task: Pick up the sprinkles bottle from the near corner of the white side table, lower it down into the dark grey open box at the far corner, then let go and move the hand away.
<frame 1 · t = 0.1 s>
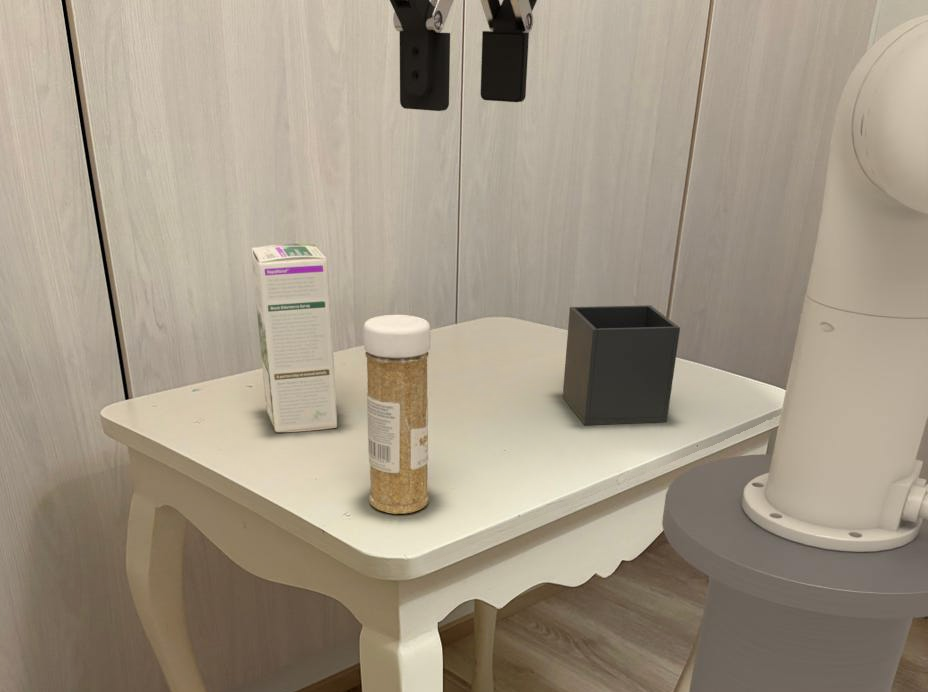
hand: (465, 104, 64), 26 cm above the table, tool pointing down, fingers open, 9 cm apart
sprinkles bottle: (398, 505, 75), on the table
syrup box: (300, 422, 89), on the table
dark grey open box: (613, 409, 93), on the table
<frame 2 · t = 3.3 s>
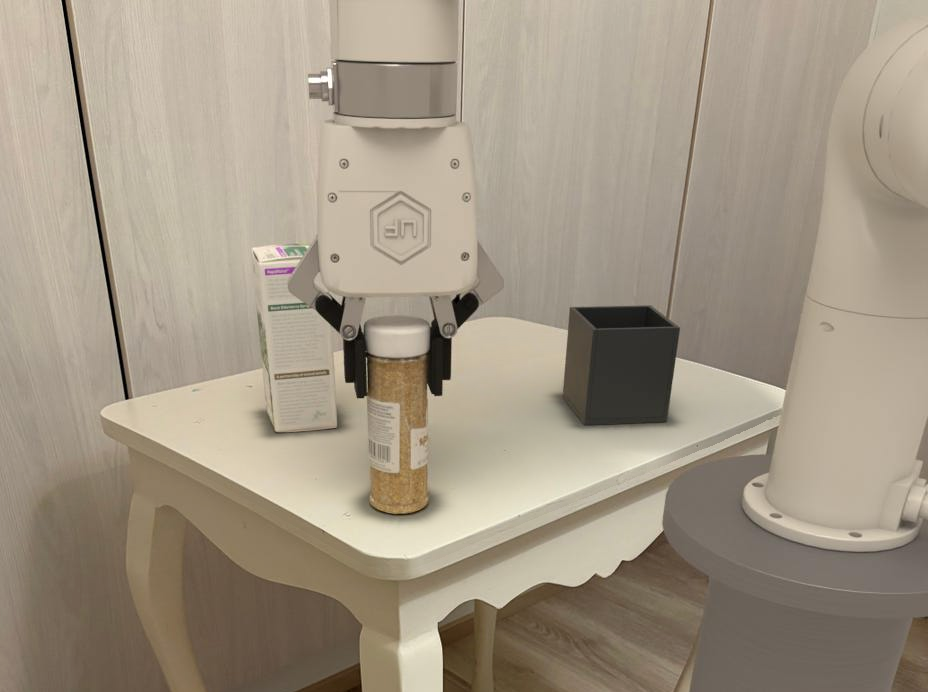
hand: (397, 388, 70), 9 cm above the table, tool pointing down, fingers closed on sprinkles bottle, 4 cm apart
sprinkles bottle: (398, 505, 75), on the table, touching gripper
everything else where it was.
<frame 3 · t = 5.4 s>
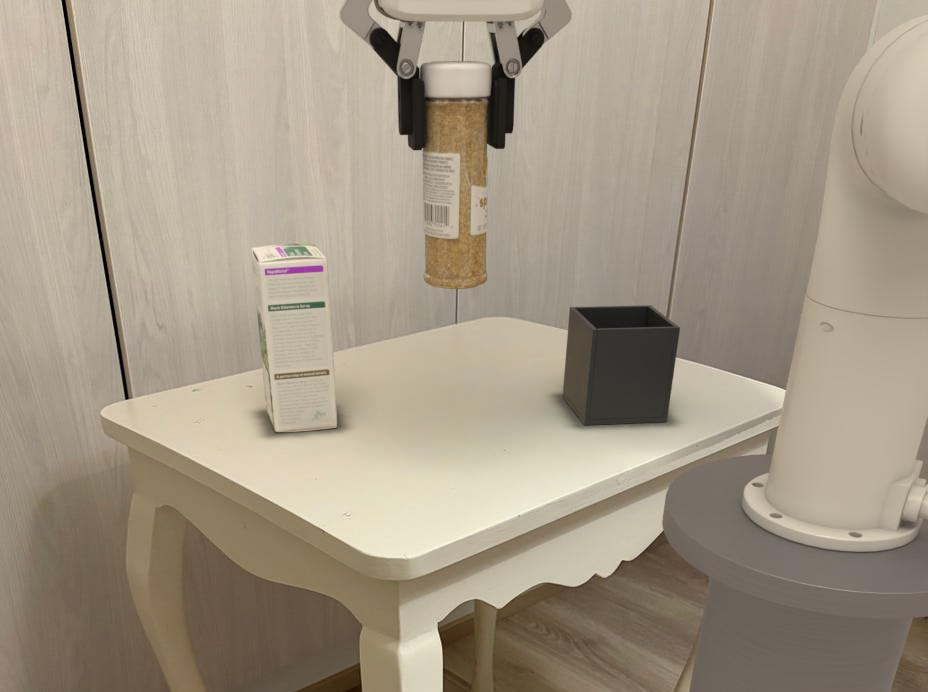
hand: (455, 144, 65), 24 cm above the table, tool pointing down, fingers closed on sprinkles bottle, 4 cm apart
sprinkles bottle: (454, 286, 70), point 15 cm above the table, touching gripper
everything else where it was.
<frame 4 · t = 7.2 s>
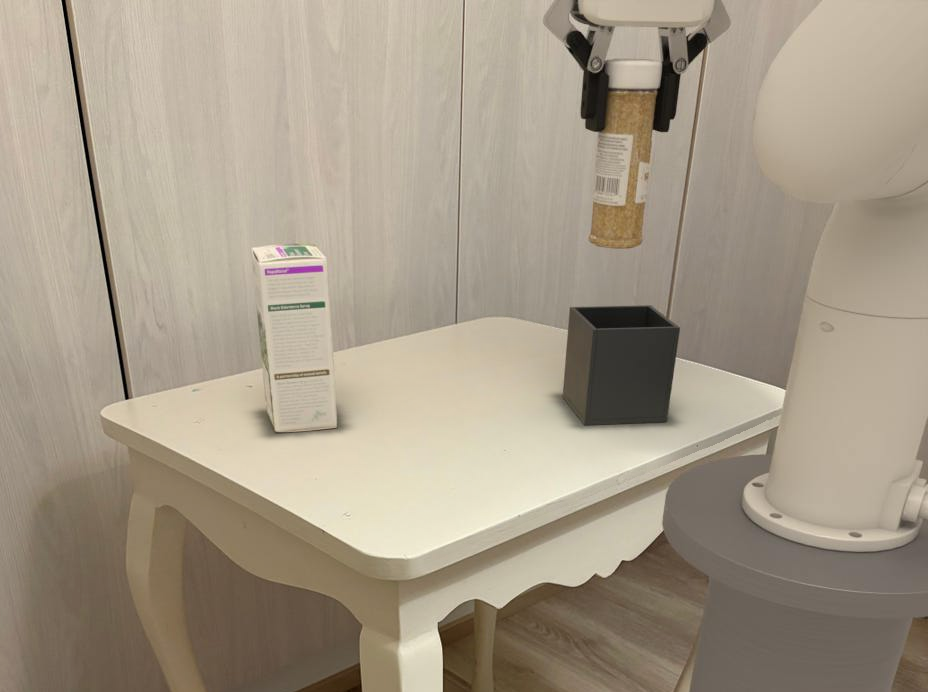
hand: (626, 127, 79), 24 cm above the table, tool pointing down, fingers closed on sprinkles bottle, 4 cm apart
sprinkles bottle: (614, 246, 84), point 15 cm above the table, touching gripper
everything else where it was.
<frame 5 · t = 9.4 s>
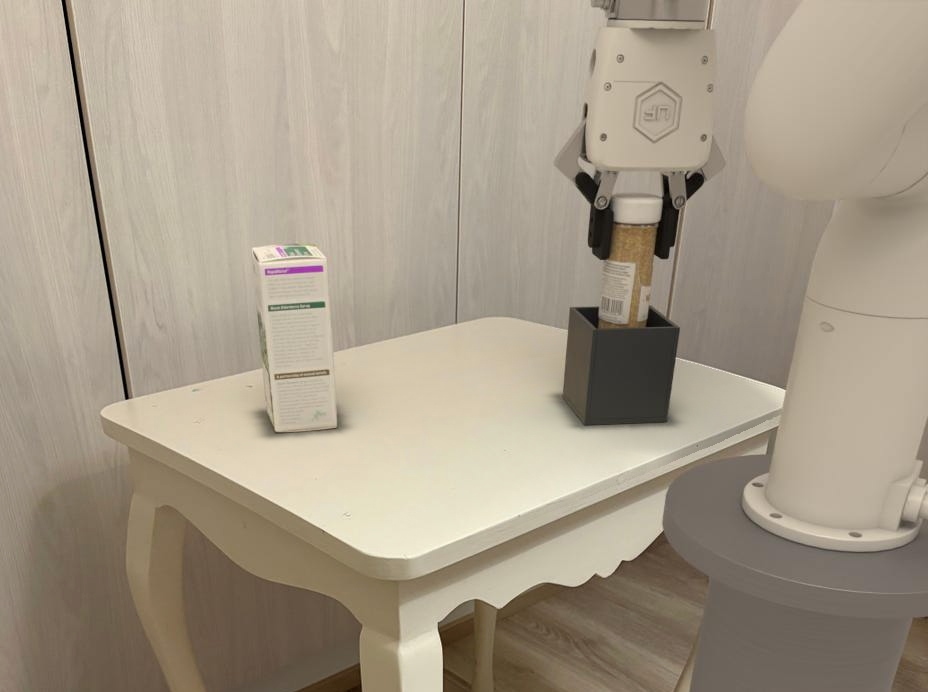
hand: (629, 254, 86), 14 cm above the table, tool pointing down, fingers closed on sprinkles bottle, 4 cm apart
sprinkles bottle: (618, 357, 91), point 5 cm above the table, touching gripper
everything else where it was.
when the fingers open (9 cm above the table, at t = 11.1 s): sprinkles bottle stays where it is, resting on dark grey open box.
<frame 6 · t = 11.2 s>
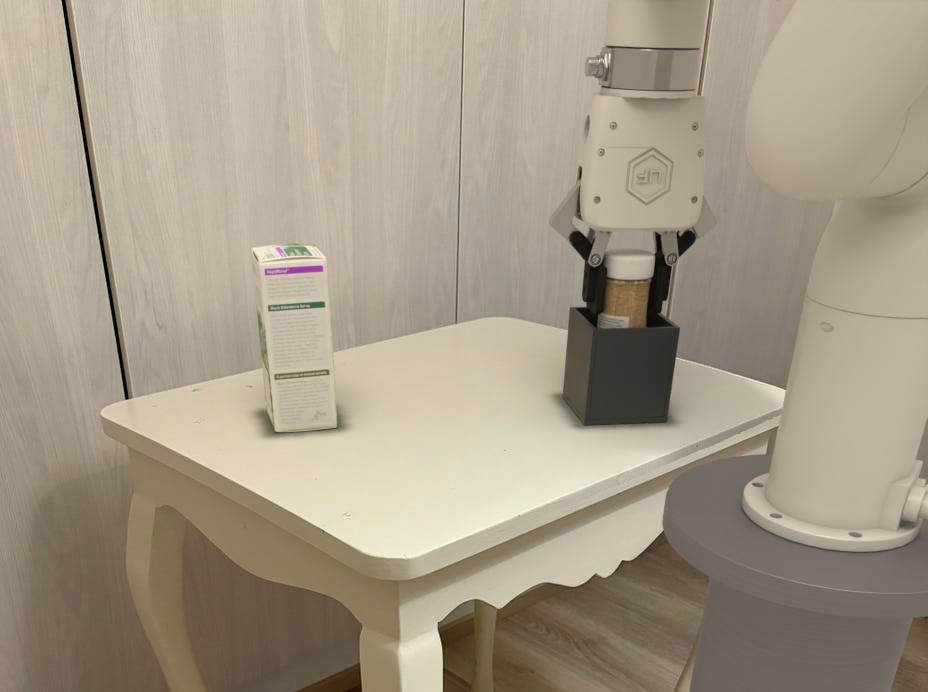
hand: (623, 307, 88), 9 cm above the table, tool pointing down, fingers open, 4 cm apart
sprinkles bottle: (613, 405, 93), resting on dark grey open box
everything else where it was.
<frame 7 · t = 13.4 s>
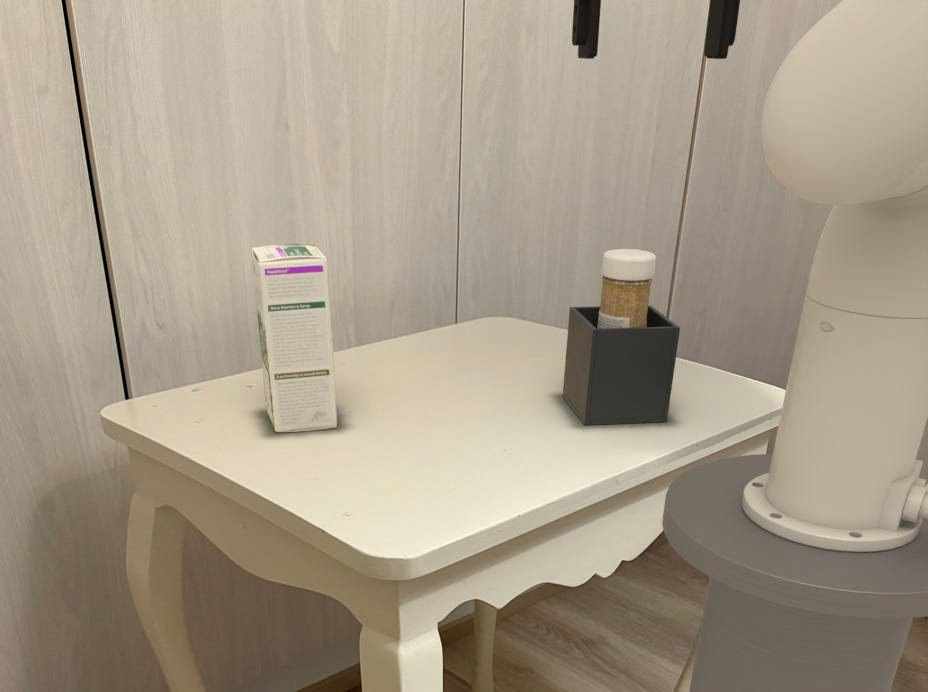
hand: (651, 58, 73), 29 cm above the table, tool pointing down, fingers open, 9 cm apart
nothing on the table moved.
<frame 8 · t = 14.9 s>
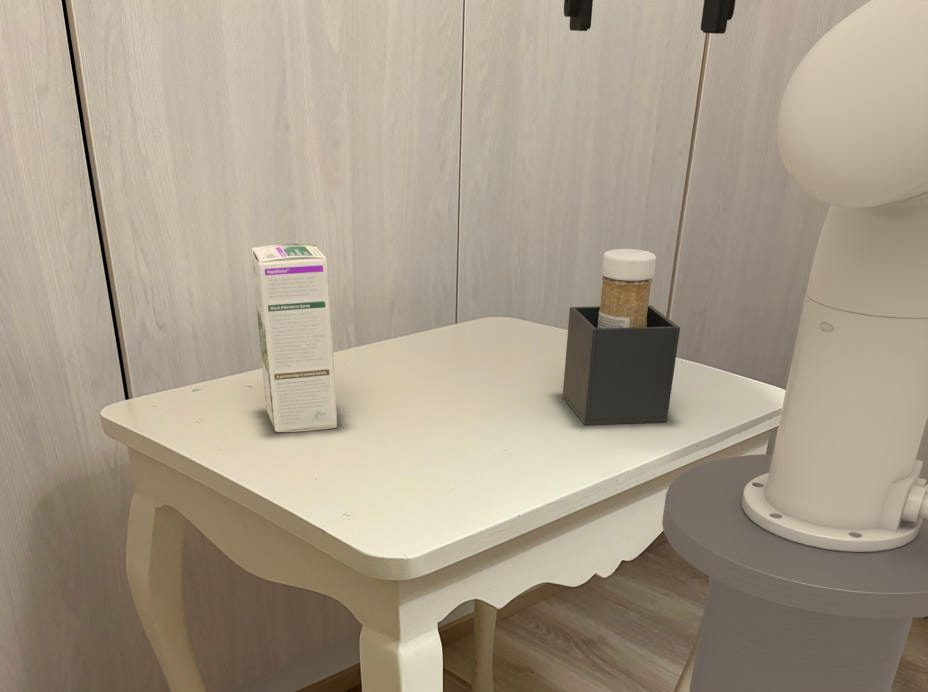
hand: (646, 31, 69), 30 cm above the table, tool pointing down, fingers open, 9 cm apart
nothing on the table moved.
at the end: sprinkles bottle 0.1 cm off-centre in the dark grey open box, point 0.3 cm above the dark grey open box's base; the gripper is holding nothing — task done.
